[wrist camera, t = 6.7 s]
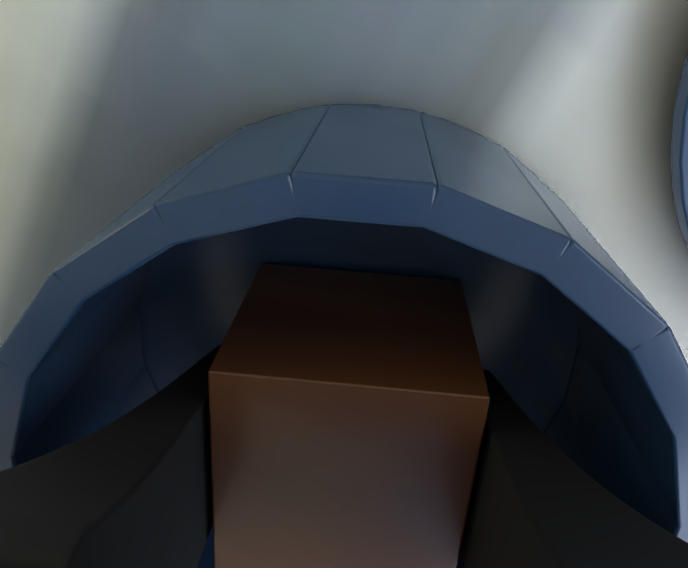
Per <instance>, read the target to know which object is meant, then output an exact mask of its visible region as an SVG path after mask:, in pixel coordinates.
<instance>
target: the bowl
mask: <svg viewBox="0 0 688 568" xmlns="http://www.w3.org/2000/svg"><path fill="white" fill-rule="evenodd" d="M261 264H274V265H286V266H297V267H309V268H320V269H332V270H343V271H355V272H366V273H378V274H389V275H401V276H412V277H424V278H435V279H447V280H458V281H461V283H462V287H463V291H464V295H465V299H466V303H467V307H468V311H469V315H470V319H471V323H472V327H473V331H474V335H475V339H476V343H477V347H478V351H479V355H480V359H481V364H482V368H483V370H489V371H490V372H491V373H492V374H493V375H494V377H495V378H496V379H497V380H498V382H499V383H500V384H501V385H502V386H503V388H504V389H505V390H506V391H507V393H508V394H509V395H510V396H511V397H512V399H513V400H514V401H515V402H516V403H517V405H518V406H519V407H520V408H521V409H522V410H523V412H524V413H525V414H526V415H527V416H528V417H529V418H530V419H531V421H532V422H533V423H534V424H535V425H536V426H537V427H538V428H539V429H540V430H541V431H542V432H543V433H544V434H545V435H546V436H547V437H548V439H550V440H551V441H552V442H553V443H554V444H555V445H556V446H557V447H558V448H559V449H560V450H561V451H562V452H563V453H564V454H565V455H566V456H567V457H568V458H569V459H570V460H571V461H573V462H574V463H575V464H576V465H577V466H578V467H579V468H581V469H582V470H583V471H584V472H585V473H587V474H588V475H589V476H590V477H591V478H593V479H594V480H595V481H596V482H598V483H599V484H600V485H601V486H602V487H604V488H605V489H606V490H608V491H609V492H610V493H612V494H613V495H614V496H616V497H617V498H618V499H620V500H621V501H623V502H624V503H626V504H627V505H629V506H630V507H631V508H633V509H634V510H636V511H637V512H639V513H640V514H641V515H643V516H644V517H646V518H647V519H649V520H651V521H652V522H654V523H655V524H657V525H659V526H660V527H662V528H663V529H665V530H667V531H668V532H670V533H672V534H673V535H675V536H677V537H679V538H680V539H682V540H684V541H685V542H687V543H688V364H687V362H686V360H685V358H684V356H683V354H682V351H681V349H680V347H679V345H678V343H677V341H676V339H675V337H674V335H673V333H672V331H671V329H670V327H669V326H668V325H667V323H666V322H665V321H664V319H663V318H662V317H661V316H660V315H659V313H658V312H657V311H656V310H655V309H654V308H653V306H652V305H651V304H650V303H649V302H648V301H647V299H646V298H645V297H644V296H643V295H642V293H641V292H640V291H639V290H638V289H637V288H636V286H635V285H634V284H633V283H632V282H631V281H630V279H629V278H628V277H627V276H626V275H625V273H624V272H623V271H622V270H621V269H620V268H619V266H618V265H617V264H616V263H615V262H614V261H613V259H612V258H611V257H610V256H609V255H608V253H607V252H606V251H605V250H604V249H603V248H602V246H601V245H600V244H599V243H598V242H597V241H596V239H595V238H594V237H593V236H592V235H591V233H590V232H589V231H588V230H587V229H586V228H585V226H584V225H583V224H582V223H581V222H580V220H579V219H578V218H577V217H576V216H575V215H574V213H573V212H572V211H571V210H570V209H569V208H568V206H567V205H566V204H565V203H564V202H563V201H562V200H561V199H560V198H559V197H558V196H557V195H556V194H555V193H554V192H552V191H551V190H550V189H549V188H548V187H547V186H546V185H545V184H544V183H543V182H541V181H540V179H539V178H538V177H537V176H536V175H535V174H534V173H533V172H531V171H530V170H529V169H528V168H527V167H525V166H524V165H523V164H522V163H521V162H520V161H519V160H517V159H516V158H515V157H514V156H513V155H512V154H511V153H510V152H509V151H508V150H506V149H505V148H504V147H502V146H501V145H499V144H496V143H494V142H492V141H489V140H488V139H486V138H484V137H483V136H481V135H480V134H477V133H475V132H473V131H471V130H468V129H466V128H464V127H462V126H459V125H457V124H455V123H452V122H450V121H448V120H445V119H442V118H438V117H435V116H431V115H428V114H426V113H424V112H418V111H414V110H409V109H403V108H396V107H389V106H382V105H370V104H336V105H324V106H320V107H313V108H305V109H300V110H296V111H293V112H289V113H285V114H282V115H278V116H274V117H270V118H268V119H265V120H263V121H260V122H257V123H253V124H249V125H246V126H245V127H243V128H240V129H239V130H237V131H236V132H234V133H233V134H231V135H230V136H228V137H227V138H225V139H223V140H222V141H220V142H219V143H217V144H216V145H214V146H212V147H211V148H209V149H208V150H206V151H205V152H204V153H202V154H201V155H199V156H198V157H196V158H195V159H193V160H192V161H190V162H189V163H187V164H186V165H184V166H183V167H181V168H180V169H178V170H177V171H176V172H175V173H173V174H172V175H171V176H170V177H168V178H167V179H166V180H165V181H163V182H162V183H161V184H160V185H158V186H157V187H156V188H155V189H153V190H152V191H151V192H150V193H148V194H147V195H146V196H145V197H143V198H142V199H141V200H140V201H138V202H137V203H136V204H135V205H133V206H132V207H131V208H130V209H128V210H127V211H126V212H125V213H123V214H122V215H121V216H120V217H118V218H117V219H116V220H115V221H113V222H112V223H111V224H110V225H108V226H107V227H106V228H105V229H103V230H102V231H101V232H100V233H98V234H97V235H96V236H95V237H93V238H92V239H91V240H90V241H88V242H87V243H86V244H85V245H83V246H82V247H81V248H80V249H78V250H77V251H76V252H75V253H73V254H72V255H71V256H70V257H68V258H67V259H66V260H65V261H63V262H62V263H61V264H60V265H58V266H57V267H56V269H55V270H53V271H52V272H51V273H50V274H49V275H48V277H47V278H46V280H45V281H44V283H43V284H42V286H41V287H40V289H39V290H38V292H37V293H36V294H35V296H34V297H33V299H32V300H31V302H30V303H29V305H28V306H27V308H26V309H25V311H24V312H23V314H22V315H21V317H20V318H19V320H18V321H17V322H16V324H15V325H14V327H13V328H12V330H11V331H10V333H9V334H8V336H7V337H6V339H5V340H4V342H3V343H2V345H1V346H0V471H3V470H6V469H9V468H12V467H15V466H17V465H20V464H23V463H25V462H28V461H30V460H33V459H36V458H38V457H41V456H43V455H45V454H48V453H50V452H52V451H54V450H57V449H59V448H61V447H63V446H65V445H68V444H70V443H72V442H74V441H76V440H79V439H81V438H83V437H85V436H87V435H89V434H91V433H93V432H95V431H97V430H98V429H100V428H102V427H104V426H106V425H108V424H109V423H111V422H113V421H115V420H116V419H118V418H120V417H122V416H123V415H125V414H126V413H128V412H130V411H131V410H133V409H134V408H136V407H137V406H139V405H140V404H142V403H143V402H145V401H146V400H147V399H149V398H150V397H152V396H153V395H155V394H156V393H158V392H159V391H161V390H162V389H163V388H165V387H166V386H167V385H169V384H170V383H171V382H173V381H174V380H175V379H177V378H178V377H179V376H180V375H182V374H183V373H184V372H186V371H187V370H188V369H189V368H191V367H192V366H193V365H194V364H196V363H197V362H198V361H199V360H200V359H202V358H203V357H204V356H205V355H207V354H208V353H209V352H211V351H212V350H213V349H214V348H216V347H217V346H218V345H222V343H223V341H224V339H225V336H226V334H227V332H228V330H229V328H230V326H231V324H232V322H233V320H234V318H235V316H236V314H237V312H238V310H239V308H240V306H241V304H242V302H243V300H244V298H245V296H246V294H247V292H248V290H249V288H250V286H251V284H252V282H253V280H254V278H255V275H256V273H257V271H258V269H259V267H260V265H261ZM197 568H214V540H213V526H212V529H211V531H210V534H209V536H208V539H207V541H206V544H205V546H204V549H203V551H202V554H201V557H200V560H199V563H198V566H197ZM457 568H464V564H463V558H462V553H461V549H460V554H459V559H458V564H457Z"/></svg>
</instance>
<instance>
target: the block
mask: <svg viewBox="0 0 688 568" xmlns="http://www.w3.org/2000/svg"><path fill="white" fill-rule="evenodd" d="M208 386H209V417H210V448H211V479H212V510H213V540H214V568H457V564H458V559H459V554H460V549H461V544H462V539H463V534H464V529H465V524H466V519H467V514H468V509H469V503H470V498H471V493H472V488H473V483H474V478H475V473H476V468H477V463H478V458H479V453H480V447H481V442H482V437H483V432H484V427H485V422H486V417H487V412H488V407H489V402H490V396H489V392H488V388H487V384H486V380H485V376H484V372H483V368H482V364H481V359H480V355H479V351H478V347H477V343H476V339H475V335H474V331H473V327H472V323H471V319H470V315H469V311H468V307H467V303H466V299H465V295H464V291H463V287H462V283H461V281H458V280H447V279H435V278H424V277H412V276H401V275H389V274H378V273H366V272H355V271H343V270H332V269H320V268H309V267H297V266H286V265H274V264H261V265H260V267H259V269H258V271H257V273H256V275H255V278H254V280H253V282H252V284H251V286H250V288H249V290H248V292H247V294H246V296H245V298H244V300H243V302H242V304H241V306H240V308H239V310H238V312H237V314H236V316H235V318H234V320H233V322H232V324H231V326H230V328H229V330H228V332H227V334H226V336H225V339H224V341H223V343H222V345H221V347H220V349H219V351H218V353H217V355H216V357H215V359H214V361H213V363H212V365H211V367H210V369H209V371H208Z"/></svg>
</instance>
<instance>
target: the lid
mask: <svg viewBox="0 0 688 568" xmlns="http://www.w3.org/2000/svg"><path fill="white" fill-rule="evenodd" d="M670 156H671V173H672V190H673V197H674V202H675V207H676V212H677V216H678V221H679V226H680V230H681V233H682V235H683V238H684V240H685V243H686V245H687V248H688V55H687V58H686V61H685V64H684V67H683V72H682V76H681V81H680V86H679V90H678V95H677V100H676V104H675V109H674V117H673V129H672V141H671V153H670Z"/></svg>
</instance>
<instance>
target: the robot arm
mask: <svg viewBox="0 0 688 568" xmlns="http://www.w3.org/2000/svg"><path fill="white" fill-rule="evenodd" d="M220 347H221V345H218V346H217V347H216V348H214V349H213V350H212V351H211V352H209V353H208V354H207V355H205V356H204V357H203V358H202V359H200V360H199V361H198V362H197V363H196V364H194V365H193V366H192V367H191V368H189V369H188V370H187V371H186V372H184V373H183V374H182V375H180V376H179V377H178V378H177V379H175V380H174V381H173V382H171V383H170V384H169V385H167V386H166V387H165V388H163V389H162V390H161V391H159V392H158V393H156V394H155V395H153V396H152V397H150V398H149V399H147V400H146V401H145V402H143V403H142V404H140V405H139V406H137V407H136V408H134V409H133V410H131V411H130V412H128V413H126V414H125V415H123V416H122V417H120V418H118V419H116V420H115V421H113V422H111V423H109V424H108V425H106V426H104V427H102V428H100V429H98V430H97V431H95V432H93V433H91V434H89V435H87V436H85V437H83V438H81V439H79V440H76V441H74V442H72V443H70V444H68V445H65V446H63V447H61V448H59V449H57V450H54V451H52V452H50V453H48V454H45V455H43V456H41V457H38V458H36V459H33V460H30V461H28V462H25V463H23V464H20V465H17V466H15V467H12V468H9V469H6V470H3V471H0V568H197V566H198V563H199V560H200V557H201V554H202V551H203V549H204V546H205V544H206V541H207V539H208V536H209V534H210V531H211V529H212V526H213V510H212V479H211V448H210V417H209V386H208V371H209V369H210V367H211V365H212V363H213V361H214V359H215V357H216V355H217V353H218V351H219V349H220ZM483 372H484V376H485V380H486V384H487V388H488V392H489V396H490V402H489V407H488V412H487V417H486V422H485V427H484V432H483V437H482V442H481V447H480V453H479V458H478V463H477V468H476V473H475V478H474V483H473V488H472V493H471V498H470V503H469V509H468V514H467V519H466V524H465V529H464V534H463V539H462V544H461V553H462V558H463V564H464V568H688V543H687V542H685V541H684V540H682V539H680V538H679V537H677V536H675V535H673V534H672V533H670V532H668V531H667V530H665V529H663V528H662V527H660V526H659V525H657V524H655V523H654V522H652V521H651V520H649V519H647V518H646V517H644V516H643V515H641V514H640V513H639V512H637V511H636V510H634V509H633V508H631V507H630V506H629V505H627V504H626V503H624V502H623V501H621V500H620V499H618V498H617V497H616V496H614V495H613V494H612V493H610V492H609V491H608V490H606V489H605V488H604V487H602V486H601V485H600V484H599V483H598V482H596V481H595V480H594V479H593V478H591V477H590V476H589V475H588V474H587V473H585V472H584V471H583V470H582V469H581V468H579V467H578V466H577V465H576V464H575V463H574V462H573V461H571V460H570V459H569V458H568V457H567V456H566V455H565V454H564V453H563V452H562V451H561V450H560V449H559V448H558V447H557V446H556V445H555V444H554V443H553V442H552V441H551V440H550V439H548V437H547V436H546V435H545V434H544V433H543V432H542V431H541V430H540V429H539V428H538V427H537V426H536V425H535V424H534V423H533V422H532V421H531V419H530V418H529V417H528V416H527V415H526V414H525V413H524V412H523V410H522V409H521V408H520V407H519V406H518V405H517V403H516V402H515V401H514V400H513V399H512V397H511V396H510V395H509V394H508V393H507V391H506V390H505V389H504V388H503V386H502V385H501V384H500V383H499V382H498V380H497V379H496V378H495V377H494V375H493V374H492V373H491V372H490V371H489V370H483Z"/></svg>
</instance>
